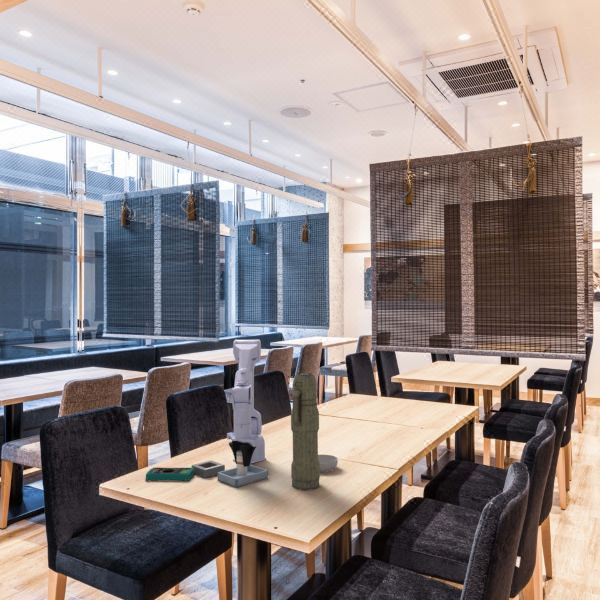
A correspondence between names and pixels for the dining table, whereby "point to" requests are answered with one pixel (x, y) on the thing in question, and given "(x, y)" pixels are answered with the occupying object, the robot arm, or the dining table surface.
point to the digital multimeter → (170, 474)
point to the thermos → (305, 433)
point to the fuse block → (208, 468)
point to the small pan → (327, 462)
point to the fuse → (241, 465)
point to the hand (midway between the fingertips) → (242, 464)
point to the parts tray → (237, 481)
